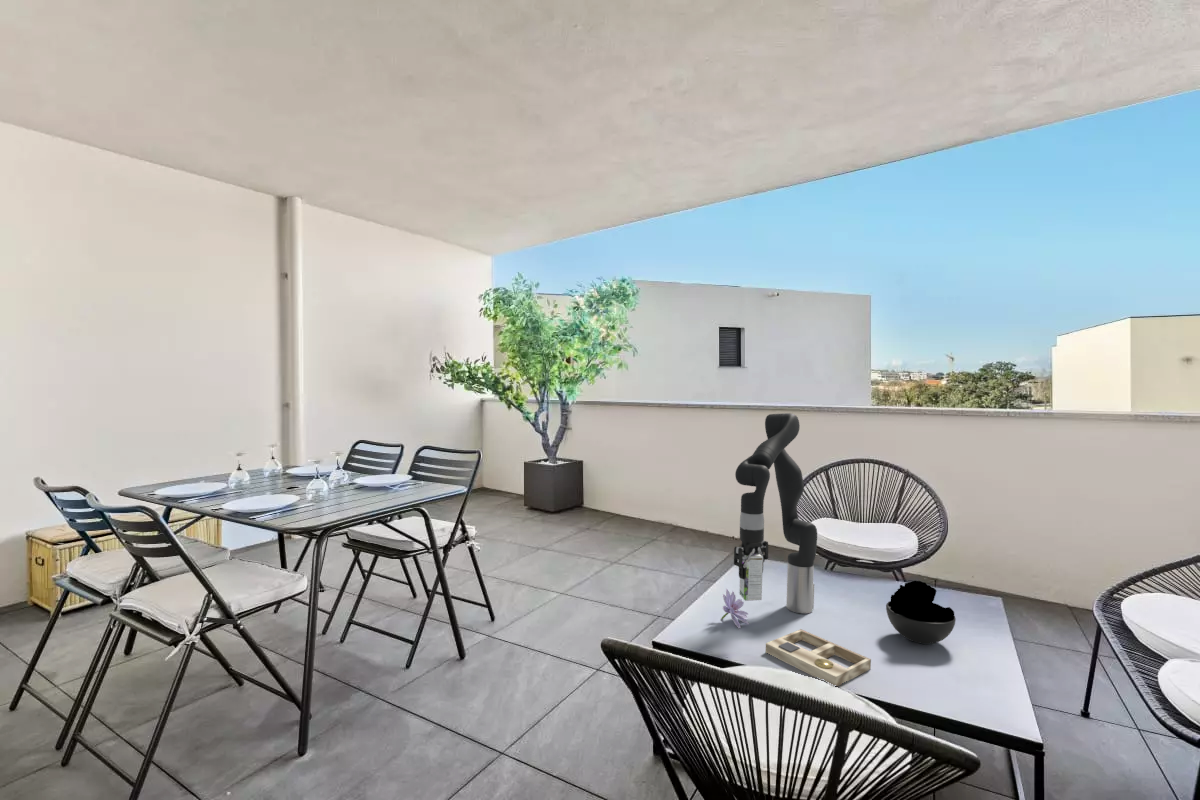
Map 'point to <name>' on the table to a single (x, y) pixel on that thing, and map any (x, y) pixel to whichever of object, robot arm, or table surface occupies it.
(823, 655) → the socket block
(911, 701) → the table surface
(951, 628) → the bowl of black rocks
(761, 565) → the syrup box
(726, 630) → the table surface
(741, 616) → the water lily
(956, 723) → the table surface
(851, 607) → the table surface
